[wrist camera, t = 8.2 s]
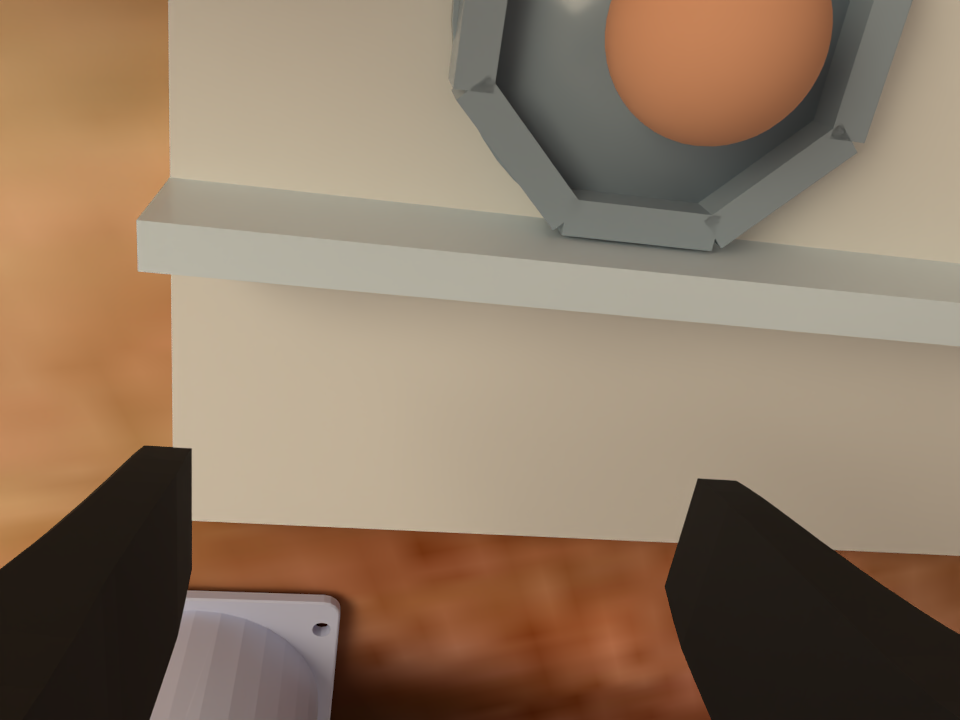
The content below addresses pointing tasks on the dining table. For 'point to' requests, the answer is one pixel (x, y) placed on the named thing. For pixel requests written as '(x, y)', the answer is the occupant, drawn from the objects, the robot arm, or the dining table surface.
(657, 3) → the rust ball
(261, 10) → the board
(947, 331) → the fence
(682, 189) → the dish
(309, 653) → the robot arm
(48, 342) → the dining table surface
